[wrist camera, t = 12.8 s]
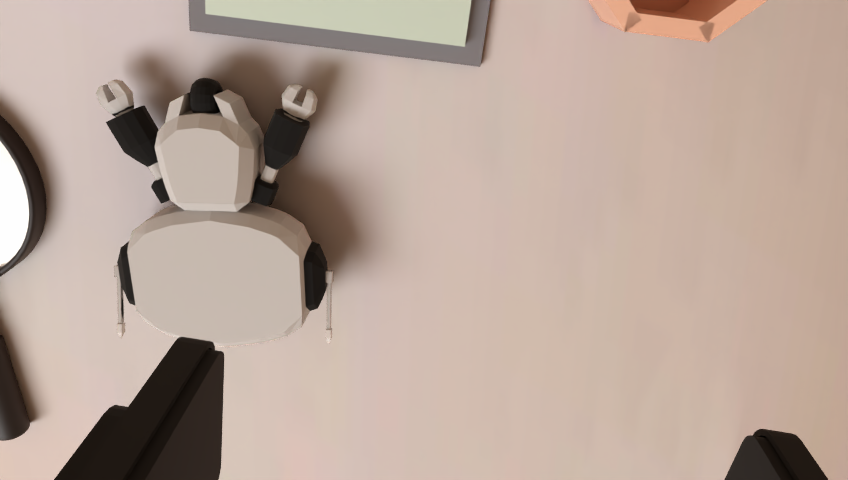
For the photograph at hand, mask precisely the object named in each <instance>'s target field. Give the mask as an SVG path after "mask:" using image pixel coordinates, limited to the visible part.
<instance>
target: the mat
mask: <svg viewBox="0 0 848 480" xmlns="http://www.w3.org/2000/svg"><path fill="white" fill-rule="evenodd" d="M489 6H490V0H471V7H470V14H469V21H468V28H467V35H466V42H465V47H463V46H455V45H447V44H439V43H431V42H423V41H415V40H407V39H399V38H392V37H384V36H376V35H368V34H360V33H352V32H344V31H336V30H329V29H321V28H313V27H305V26H297V25H289V24H281V23H273V22H265V21H258V20H250V19H242V18H234V17H226V16H218V15H210V14H206V13H205V0H189V23H190V31H197V32H205V33H213V34H221V35H229V36H237V37H245V38H253V39H261V40H269V41H277V42H285V43H293V44H302V45H310V46H318V47H326V48H334V49H342V50H350V51H358V52H366V53H374V54H382V55H390V56H398V57H406V58H414V59H422V60H431V61H439V62H447V63H455V64H463V65H471V66H479V67H480V65H481V59H482V52H483V45H484V39H485V32H486V26H487V19H488V13H489Z"/></svg>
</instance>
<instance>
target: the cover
mask: <svg viewBox="0 0 848 480" xmlns="http://www.w3.org/2000/svg"><path fill="white" fill-rule="evenodd" d="M470 7H471V0H205V13H206V14H210V15H218V16H226V17H234V18H242V19H250V20H258V21H265V22H273V23H281V24H289V25H297V26H305V27H313V28H321V29H329V30H336V31H344V32H352V33H360V34H368V35H376V36H384V37H392V38H399V39H407V40H415V41H423V42H431V43H439V44H447V45H455V46H463V47H465V42H466V35H467V28H468V21H469V14H470Z"/></svg>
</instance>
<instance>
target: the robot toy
mask: <svg viewBox="0 0 848 480" xmlns="http://www.w3.org/2000/svg"><path fill="white" fill-rule="evenodd" d="M108 84H109V86H110V87H111V89H112V91H113V93H114V95H115V96H116V98H117V99H116V98H115V96H114V95H113V93H112V92H111V90H110V89H109V87H108V85H107V84H106V85H103V86H101V87H99V88H98V90H97V93H96V94H97V97H98V100H99V103H100V106H101V107H102V108H104V109H105V110H106V111H108V112H109V113H110V114H112V115H113V116H115V117H116V118H114V119H112V120H110V121H108V122H106V123H107V125H108V127H109V128H110V130H111V132H112V133H113V135H114V136H115V138H116V140H117V141H118V143H119V145H120V146H121V148H122V150H123V151H124V152H125V153H126V154H128V155H129V156H131V157H132V158H134V159H135V160H137V161H138V162H140V163H142V164H144V165H146V166H147V167H148V168H149V169H150V171H151V173H152V174H153V176H154V178H155V179H156V181H154V182H153V184H152V186H151V187H152V189H153V191H154V192H155V194H156V196H157V197H158V199H159V201H160V202H161V203H164V202H166V201H169V200H170V201H172V202H173V203H175V204H176V205H174V206H170V207H168V208H165V209H163V210H160V211H159V212H158V213H156V214H155V215H153V216H152V217H151V218H149V219H148V220H147V221H145V222H144V223H143V224H141V225H140V226H139V227H137V228H136V229H135V230H133V231H132V234H131V237H130V241H129V242H128V243H126V244H125V245H124V246H123V247H121V250H120V254H119V258H118V262H117V263H118V265H117V266H114V277H117V299H118V324H117V333H118V335H119V336H120V337H121V338H122V336H123V334H124V332H125V323H124V310H123V290H124V292H125V294H126V296H127V299H128V301H129V303H130V304H133V305H135V306H136V311H137V313H138V314H139V315H140V316H141V317H142V319H143V320H144V321H145V322H146V323H147V324H149V325H150V326H152V327H154V328H155V329H157V330H159V331H160V332H162V333H164V334H167V335H169V336H172V337H176V338H179V337H187V338H194V339H200V340H206V341H212V342H213V343H214V345H215V346H221V347H233V346H242V345H251V344H260V343H265V342H269V341H273V340H278V339H281V338H284V337H286V336H288V335H290V334H292V333H293V332H295V331H296V330H298V329H299V328H301V327H302V325H303V323H304V321H305V319H306V317H307V315H308V314H309V312H310V311H311V310H314V309H317V308H318V307H319V305H320V303H321V300H322V298H323V296H324V293H325V291H326V288H327V329H326V340H327V342H328V344H329V342H330V340H331V337H332V328H331V283H332V282H333V271H332V270H327V261H326V258H325V256H324V254H323V251H322V249H321V247H320V244H317V243H315V242H312V241H311V239H310V237H309V235H308V232H307V230H306V228H305V226H304V224H302V223H301V222H299V221H298V220H297V219H295V218H294V217H292V216H291V215H289V214H288V213H285V212H283V211H281V210H278V209H275V208H271V207H268V205H270V204H272V202H273V199H274V197H275V195H276V192H277V190H278V183H277V182H276V181H275V178H276V175H277V173H278V170H279V169H280V168H281V167H283V166H284V165H285V164H287V163H288V162H289V161H290V160H291V159H293V158H294V157H295V156H296V155H297V154H298V152H299V150H300V147H301V145H302V143H303V140H304V138H305V136H306V133H307V131H308V129H309V126H310V125H309V121H307V120H306V119H307V118H308V117H310V116H311V115H312V114H313V113H314V112H316V106H317V100H318V99H317V97H316V95H315V93H314V92H313V91H312V90H310V89H308V90H307V91H306V96H305V99H304V101H303V103H301V102H299V101H297V100H296V99H297V96H298V94H299V92H300V90H301V88H302V87H303V86H301V85H299V84H292V85H289V86H288V87H287V88H286V90H285V91H284V93H283V94H282V107H283V109H276V110H275V112H274V115H273V117H272V120H271V122H270V125H269V127H268V130H267V132H266V134H265V137H264V136H263V133H262V131H261V128H260V126H259V124H258V123H257V122H256V121H255V120H254V119H253V118H252V117H251V115H250V113H249V111H248V108H247V106H246V104H245V102H244V99H243V97H241V96H239V95H237V94H236V93H234V92H232V91H230V90H228V89H227V90H225V91H223V90H222V87H221V85H220V84H219V83H218V82H217V81H215V80H213V79H208V78H202V79H198V80H196V81H195V82H194V83H193V84H192V87H191V90H190V93H188V94H185V95H183V96H181V97H179V98H177V99H175V100H173V101H171V102H170V104H169V108H168V112H167V116H166V120H165V123H164V125H163V126H162V127H161V128H160V129H159V130H158V128H157V126H156V125H155V123H154V121H153V119H152V118H151V116H150V114H149V113H148V111H147V109H146V108H145V106H141V107H138V108H135V109H134V102H133V93H132V91H131V90H130V89H129V88H128V86H127V85H126V84H125V83H124V82H123V81H120V80H113V81H111V82H109V83H108ZM264 162H265V163H266V164H265V167H264ZM251 200H252V201H254V202H256V203H258V204H256V203H251V202H250V201H251Z"/></svg>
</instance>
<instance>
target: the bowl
mask: <svg viewBox="0 0 848 480" xmlns="http://www.w3.org/2000/svg"><path fill="white" fill-rule="evenodd" d="M588 1H589V3H590V4H591V6H592V7H593V9H594V10H595V12H596V13H597V15H598V17H599V18H600V20H601V21H603V22H605V23H607V24H609V25H612V26H614V27H616V28H618V29H620V30H622V31H624V32H633V33H641V34H649V35H657V36H665V37H673V38H680V39H688V40H696V41H704V42H709V41H711V40H712V39H713V38H715V37H716V36H718V35H719V34H721V33H722V32H723V31H725V30H726V29H728V28H729V27H730V26H732V25H733V24H735V23H736V22H738V21H739V20H740V19H742V18H743V17H745V16H746V15H747V14H749V13H750V12H752V11H753V10H755V9H756V8H757V7H759V6H760V5H762V4H763V3H764V2H766V1H767V0H588Z"/></svg>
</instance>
